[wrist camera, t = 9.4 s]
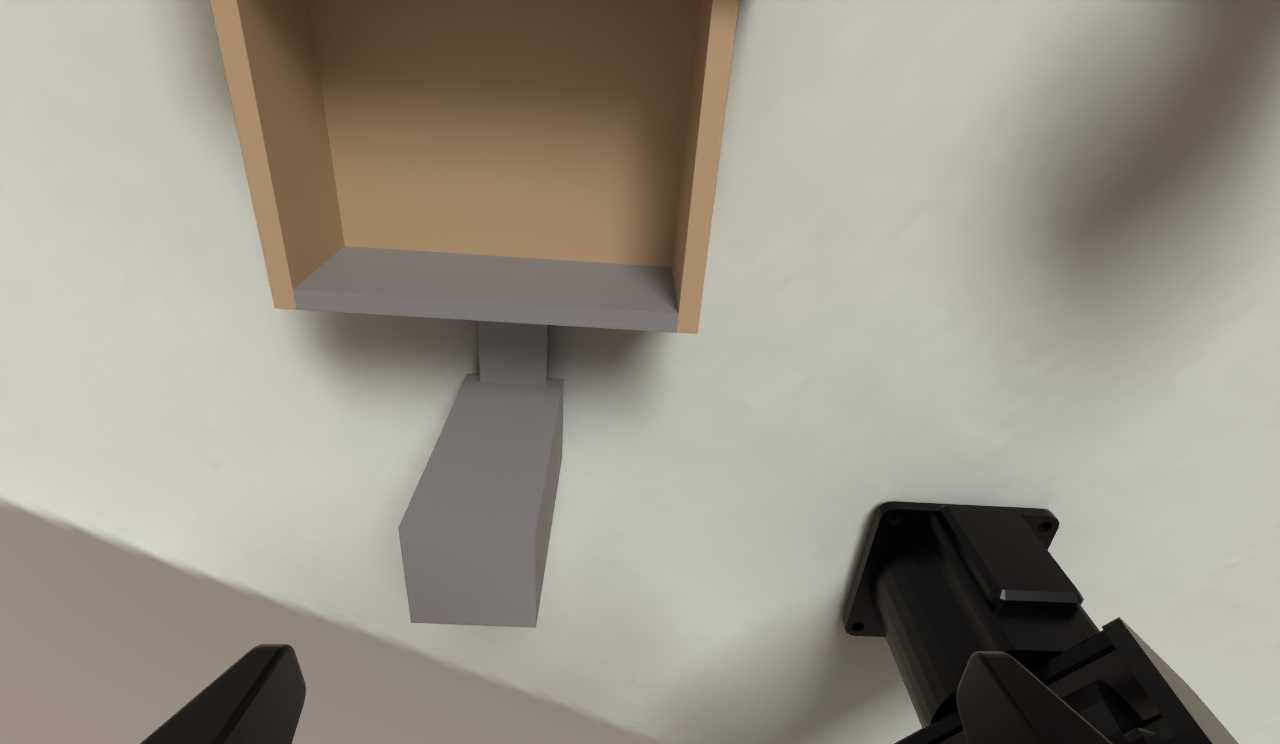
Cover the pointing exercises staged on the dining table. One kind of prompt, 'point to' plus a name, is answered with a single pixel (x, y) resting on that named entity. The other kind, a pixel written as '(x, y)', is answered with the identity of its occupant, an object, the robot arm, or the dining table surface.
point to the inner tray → (484, 219)
